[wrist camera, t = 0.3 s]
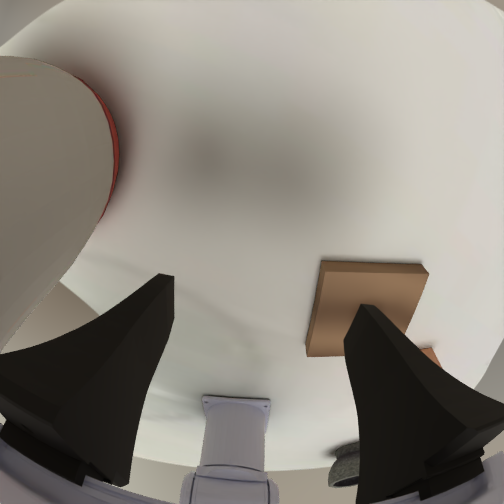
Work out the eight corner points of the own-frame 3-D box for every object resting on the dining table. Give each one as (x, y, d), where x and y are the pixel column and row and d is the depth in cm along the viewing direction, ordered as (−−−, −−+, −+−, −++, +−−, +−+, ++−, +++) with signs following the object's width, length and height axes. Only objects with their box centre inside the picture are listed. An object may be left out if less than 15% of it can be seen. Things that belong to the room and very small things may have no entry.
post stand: (391, 341, 25) (408, 383, 20) (305, 345, 25) (311, 392, 20) (421, 264, 20) (452, 304, 16) (321, 260, 21) (337, 307, 16)
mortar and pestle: (329, 461, 42) (334, 512, 31) (321, 448, 38) (326, 508, 27) (385, 446, 39) (395, 497, 29) (385, 430, 35) (398, 490, 25)
